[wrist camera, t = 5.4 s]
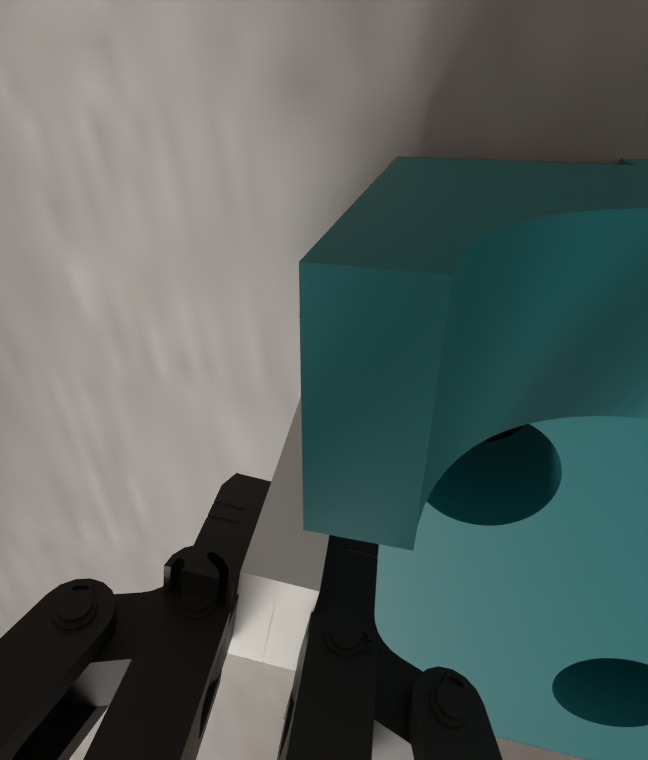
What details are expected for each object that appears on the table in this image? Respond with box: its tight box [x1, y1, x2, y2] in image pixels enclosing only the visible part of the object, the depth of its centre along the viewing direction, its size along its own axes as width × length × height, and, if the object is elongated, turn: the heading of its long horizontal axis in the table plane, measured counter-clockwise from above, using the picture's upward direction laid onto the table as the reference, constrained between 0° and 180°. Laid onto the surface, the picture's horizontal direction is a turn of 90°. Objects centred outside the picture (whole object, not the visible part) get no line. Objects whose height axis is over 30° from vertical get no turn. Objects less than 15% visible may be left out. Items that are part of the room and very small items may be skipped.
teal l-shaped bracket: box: [299, 156, 648, 760], centre depth 13 cm, size 18×11×10 cm, turn 0°
